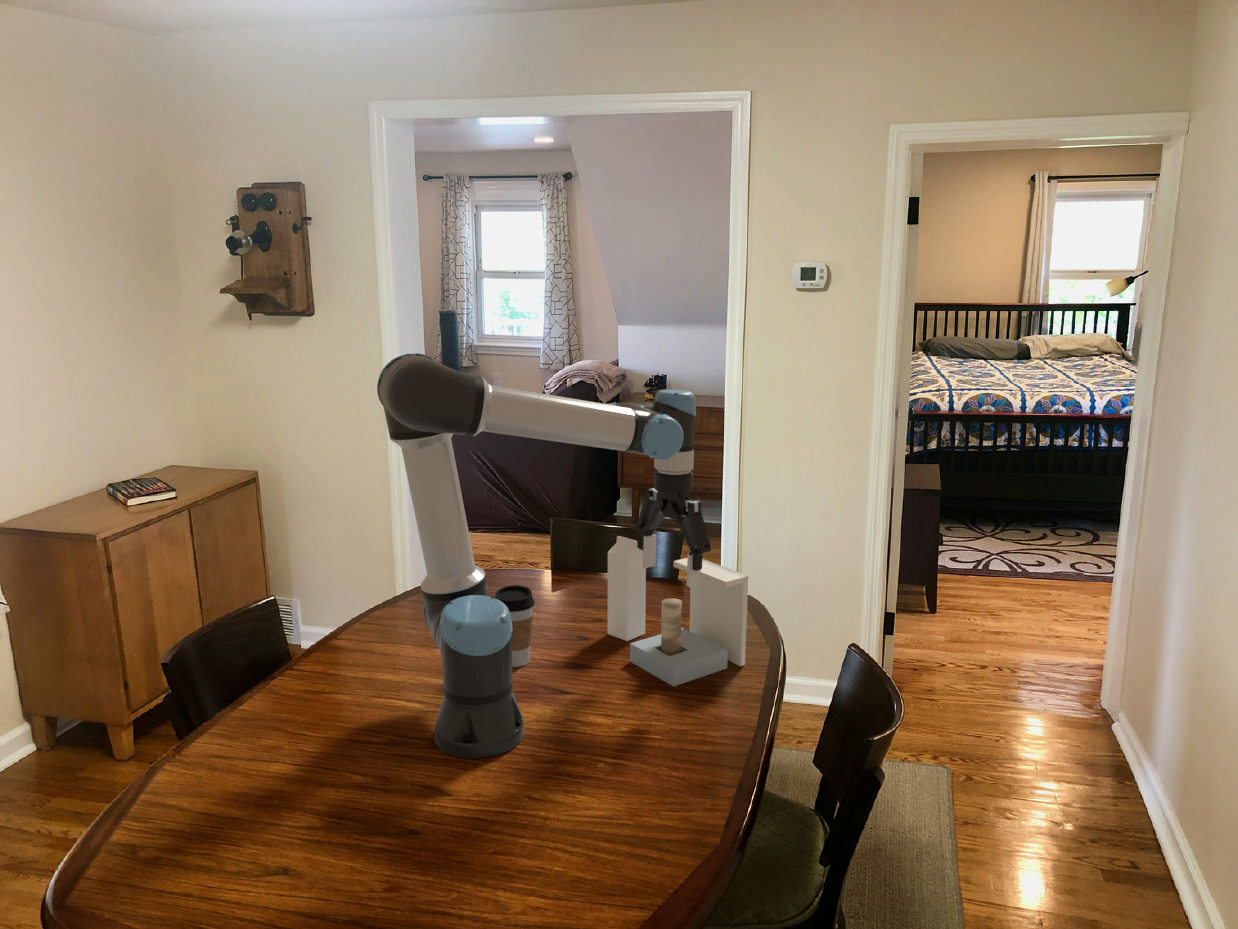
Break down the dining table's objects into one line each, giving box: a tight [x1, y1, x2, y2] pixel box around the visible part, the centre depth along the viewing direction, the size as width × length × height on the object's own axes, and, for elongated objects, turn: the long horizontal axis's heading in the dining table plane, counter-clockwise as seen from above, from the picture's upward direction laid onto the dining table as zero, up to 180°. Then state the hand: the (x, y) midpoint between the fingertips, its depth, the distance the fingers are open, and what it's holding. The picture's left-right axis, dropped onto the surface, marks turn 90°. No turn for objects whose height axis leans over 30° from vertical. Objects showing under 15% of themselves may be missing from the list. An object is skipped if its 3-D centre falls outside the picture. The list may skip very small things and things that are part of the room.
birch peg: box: [660, 598, 683, 656], centre depth 178 cm, size 4×4×14 cm
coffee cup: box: [494, 584, 535, 668], centre depth 181 cm, size 8×8×15 cm
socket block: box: [629, 627, 729, 687], centre depth 181 cm, size 14×14×4 cm
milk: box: [607, 535, 647, 642], centre depth 194 cm, size 6×6×22 cm
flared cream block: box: [673, 557, 749, 667], centre depth 184 cm, size 6×16×19 cm, turn 36°
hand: (670, 575), depth 176 cm, fingers open, 13 cm apart
